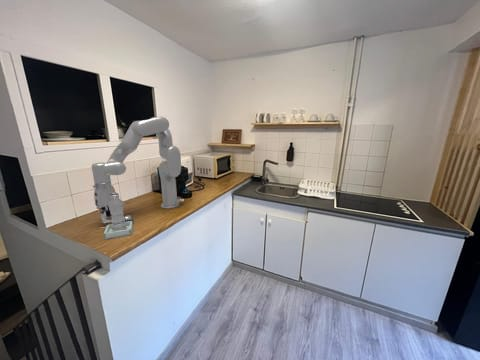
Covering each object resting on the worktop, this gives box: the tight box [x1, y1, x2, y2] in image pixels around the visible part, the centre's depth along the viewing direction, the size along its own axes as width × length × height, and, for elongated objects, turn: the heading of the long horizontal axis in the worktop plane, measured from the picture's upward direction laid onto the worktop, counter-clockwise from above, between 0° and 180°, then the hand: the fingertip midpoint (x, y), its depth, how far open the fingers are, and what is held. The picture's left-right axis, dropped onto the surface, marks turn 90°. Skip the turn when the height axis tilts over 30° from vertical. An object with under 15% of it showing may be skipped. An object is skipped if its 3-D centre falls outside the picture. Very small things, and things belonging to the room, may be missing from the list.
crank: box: [99, 209, 132, 224], centre depth 110 cm, size 14×5×8 cm, turn 109°
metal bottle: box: [108, 192, 126, 232], centre depth 101 cm, size 6×7×20 cm
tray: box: [103, 221, 134, 241], centre depth 103 cm, size 12×11×3 cm
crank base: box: [100, 217, 135, 229], centre depth 111 cm, size 16×6×2 cm, turn 114°
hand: (108, 215), depth 114 cm, fingers closed
